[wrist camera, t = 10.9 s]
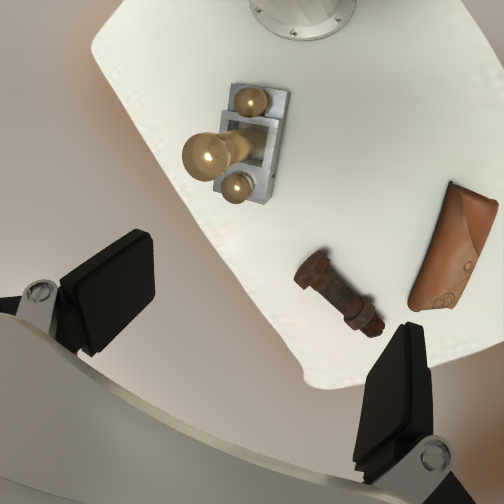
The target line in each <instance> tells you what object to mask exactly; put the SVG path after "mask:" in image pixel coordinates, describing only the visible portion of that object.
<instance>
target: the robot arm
mask: <svg viewBox="0 0 504 504" xmlns="http://www.w3.org/2000/svg"><path fill="white" fill-rule="evenodd" d="M249 3H250V8H251V10H252V13H253V15H254V16H255V18H256V19H257V21H258V22H259V23H260V24H261V25H262V26H263V27H264V28H266V29H267V30H269V31H270V32H272V33H274V34H276V35H278V36H280V37H283V38H286V39H291V40H297V41H309V40H317V39H320V38H324V37H327V36H329V35H331V34H333V33H335V32H337V31H338V30H339V29H341V28H342V27H343V26H344V25H345V24H346V23H347V22H348V21H349V19H350V17H351V15H352V13H353V10H354V7H355V0H249ZM260 10H261V12H260V13H259V11H260ZM337 20H341V22H337ZM294 33H297V35H296V36H294V35H293V34H294ZM59 281H60V285H61V286H60V287H58V288H57V285H56V284H55V283H54V282H53V281H51V280H45V279H43V280H38V281H35V282H33V283H31V284H30V285H29V286H28V287H27V288H26V289H25V291H24V292H23V295H22V296H15V297H4V298H0V504H476V503H475V501H474V500H473V499H472V497H471V496H470V495H469V494H468V492H467V491H466V490H465V488H464V487H463V486H462V484H461V483H460V482H459V481H458V479H457V478H456V477H455V475H454V474H453V473H452V472H451V468H452V467H453V463H454V451H453V449H452V446H451V445H450V443H449V442H448V441H447V440H446V439H445V438H443V437H441V436H438V435H433V398H432V380H431V371H430V369H429V368H428V367H427V356H426V346H425V338H424V330H423V326H421V325H418V324H415V323H412V322H406V323H405V325H404V324H400V326H399V327H398V329H397V330H396V332H395V333H394V335H393V337H392V338H391V340H390V341H389V343H388V345H387V346H386V348H385V349H384V351H383V352H382V354H381V355H380V357H379V358H378V360H377V361H376V363H375V364H374V366H373V367H372V369H371V370H370V372H369V373H368V375H367V378H366V383H365V390H364V397H363V404H362V410H361V417H360V423H359V429H358V434H357V439H356V444H355V449H354V454H353V462H356V466H355V471H361V472H364V476H363V479H364V481H363V482H362V483H359V482H356V481H352V480H348V479H344V478H340V477H336V476H332V475H328V474H324V473H320V472H317V471H313V470H309V469H306V468H303V467H299V466H296V465H293V464H289V463H286V462H283V461H280V460H277V459H274V458H271V457H268V456H265V455H262V454H259V453H256V452H254V451H251V450H249V449H246V448H243V447H241V446H238V445H236V444H233V443H231V442H228V441H226V440H224V439H221V438H219V437H217V436H214V435H212V434H210V433H208V432H205V431H203V430H201V429H199V428H197V427H195V426H192V425H190V424H188V423H186V422H184V421H182V420H180V419H178V418H176V417H174V416H172V415H170V414H169V413H167V412H165V411H163V410H161V409H159V408H157V407H156V406H154V405H152V404H150V403H148V402H147V401H145V400H143V399H141V398H140V397H138V396H136V395H135V394H133V393H131V392H130V391H128V390H126V389H125V388H123V387H121V386H120V385H118V384H116V383H115V382H113V381H112V380H110V379H109V378H107V377H106V376H104V375H103V374H101V373H100V372H98V371H97V370H95V369H94V368H92V367H91V366H90V365H88V364H87V363H85V362H84V361H82V360H81V359H80V358H78V357H77V354H78V353H77V352H78V350H79V349H80V348H81V349H82V351H83V352H85V353H86V354H88V355H89V356H90V357H93V356H94V355H95V354H96V352H97V353H99V352H101V351H102V350H103V349H104V348H105V347H106V346H107V345H108V344H109V343H110V342H111V341H112V340H113V339H114V338H115V337H116V336H117V335H118V334H119V333H120V332H121V331H122V330H123V329H124V328H125V327H126V326H127V325H128V324H129V323H130V322H131V321H132V320H133V319H134V318H135V317H136V316H137V315H138V314H139V313H140V312H141V311H142V310H143V309H144V308H145V307H146V306H147V305H148V304H149V303H150V302H151V301H152V300H153V298H154V296H155V280H154V254H153V240H152V238H151V236H150V234H149V233H148V232H145V231H142V230H139V229H134V230H132V231H131V232H129V233H128V234H126V235H124V236H123V237H121V238H120V239H118V240H117V241H115V242H114V243H112V244H111V245H109V246H108V247H106V248H105V249H103V250H102V251H100V252H99V253H97V254H96V255H94V256H93V257H92V258H90V259H88V260H87V261H86V262H84V263H82V264H81V265H80V266H78V267H77V268H75V269H74V270H72V271H71V272H70V273H68V274H67V275H65V276H64V277H63V278H61V279H60V280H59Z"/></svg>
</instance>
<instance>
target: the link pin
mask: <svg viewBox="0 0 504 504" xmlns="http://www.w3.org/2000/svg"><path fill="white" fill-rule="evenodd" d="M266 141H267V135H266V133H265V132H264V131H263V130H262V129H261V128H259V127H256V126H250V127H245V128H241V129H236V130H231V131H227V132H223V133H218V134H214V133H211V132H205V133H200V134H196V135H194V136H192V137H191V138H189V139H188V140H187V142H186V143H185V145H184V147H183V151H182V160H183V164H184V167H185V169H186V170H187V172H188V173H189V174H190V175H191V176H192V177H193V178H195V179H197V180H199V181H212V180H214V179H216V178H218V177H220V176H221V175H223V174H224V173H225V172H226V170H227V169H228V167H230V166H232V165H234V164H236V163H239V162H241V161H243V160H245V159H247V158H249V157H251V156H253V155H256V154H258V153H260V152H262V151H263V150H264V149H265V147H266Z"/></svg>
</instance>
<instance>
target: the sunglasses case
mask: <svg viewBox="0 0 504 504" xmlns="http://www.w3.org/2000/svg"><path fill="white" fill-rule="evenodd" d="M452 183H453V182H452V181H450V183H449V186H448V189H447V192H446V196H445V199H444V203H443V207H442V211H441V214H440V217H439V220H438V223H437V226H436V229H435V232H434V235H433V238H432V241H431V244H430V247H429V250H428V253H427V255H426V258H425V260H424V263H423V265H422V268H421V270H420V273H419V275H418V278H417V280H416V282H415V284H414V286H413V288H412V291H411V293H410V296H409V298H408V301H407V303H408V307H409V308H410V310H412V311H414V312H419V311H421V310H429V309H441V308H449V309H453V308H454V307H455V306H456V304H457V302H458V300H459V299H460V297H461V295H462V293H463V291H464V289H465V286H466V285H467V282H468V280H469V278H470V276H471V274H472V272H473V269H474V267H475V265H476V263H477V261H478V258H479V256H480V254H481V251H482V249H483V247H484V244H485V242H486V240H487V237H488V235H489V232H490V230H491V227H492V225H493V222H494V220H495V217H496V214H497V211H498V206H499V204H498V202H497V201H496V200H493V199H489V198H487V197H484V196H483V195H480V194H478V193H475V192H473V191H471V190H468V189H466V188H463V187H461V186H459V185H455V184H452Z"/></svg>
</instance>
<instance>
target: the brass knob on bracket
mask: <svg viewBox="0 0 504 504" xmlns="http://www.w3.org/2000/svg"><path fill="white" fill-rule="evenodd" d="M289 96H290V92H288V91H283V90H277V89H271V88H264V87H257V86H250V85H242V84H233V83H231V89H230V96H229V103H228V110H222V116H221V123H220V131H219V133H223V132H227V131H231V130H236V129H237V126H238V121H240V122H246V123H251V124H257V125H262V126H267V127H269V129H268V135H267V141H266V147H265V153H264V159H263V161H259V160H254V159H250V158H247V159H245V160H243V161H241V162H239V163H236V164H234V165H232V166H230V167H228V169H227V170H226V172H225V173H224V174H223V175H221V176H220V177H218V178H216V179H214V185H213V191H215V192H219V193H222V195H223V197H224V198H225V199H226V200H227V201H228V202H230V203H233V204H239V203H242V202H244V201H245V200H249V201H252V202H256V203H260V204H263V205H264V204H265V203H266V202H267V201H268V200H269V199H270V198H271V196H272V191H273V185H274V180H275V176H273V174H274V173H276V169H277V163H278V158H279V152H280V147H281V141H282V136H283V130H284V125H285V119H286V113H287V108H288V102H289Z"/></svg>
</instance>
